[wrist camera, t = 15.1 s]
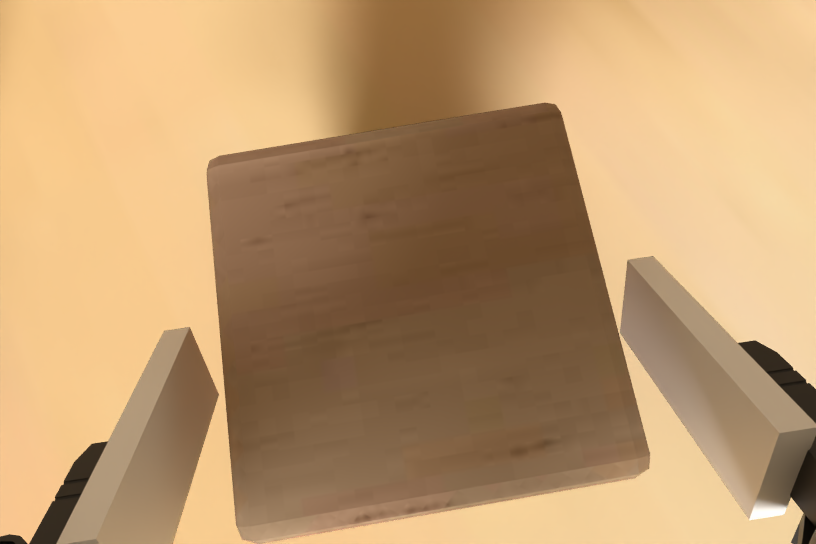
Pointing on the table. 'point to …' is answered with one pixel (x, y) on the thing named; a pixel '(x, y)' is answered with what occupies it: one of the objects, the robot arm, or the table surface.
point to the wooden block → (414, 325)
